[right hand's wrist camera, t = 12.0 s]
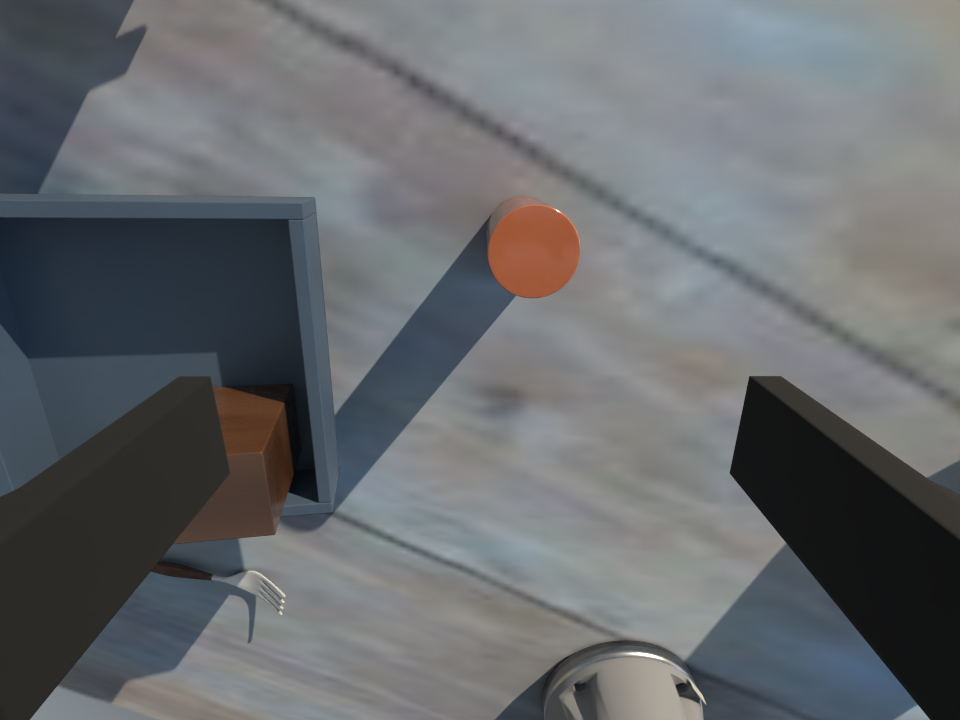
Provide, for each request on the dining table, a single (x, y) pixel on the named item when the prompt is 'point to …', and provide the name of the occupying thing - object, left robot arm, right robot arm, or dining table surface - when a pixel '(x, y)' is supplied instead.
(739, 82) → the dining table surface
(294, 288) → the tray
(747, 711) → the dining table surface
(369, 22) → the dining table surface
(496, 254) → the terracotta cylinder
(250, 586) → the fork
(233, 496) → the walnut block
